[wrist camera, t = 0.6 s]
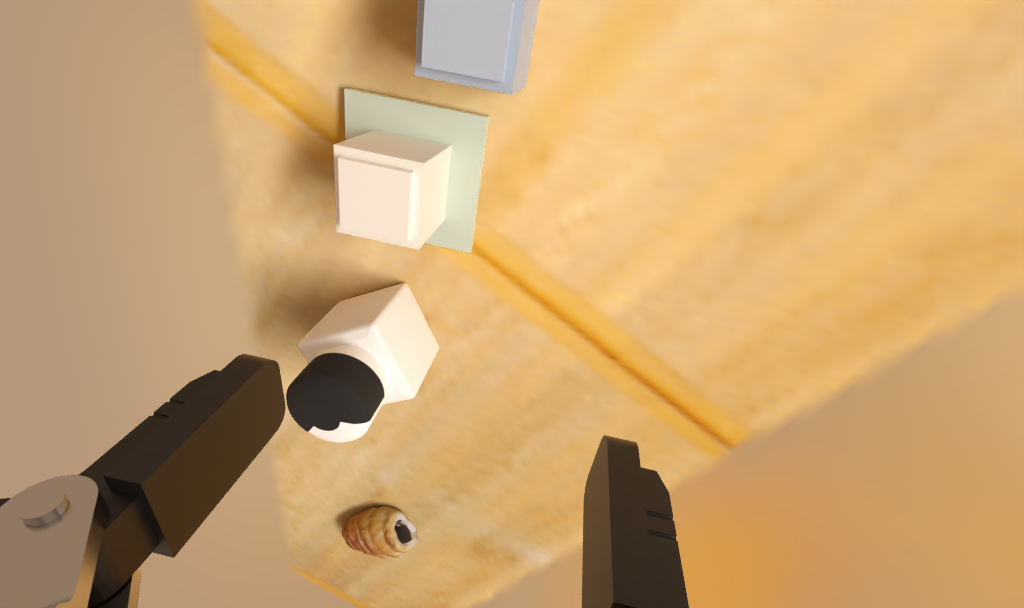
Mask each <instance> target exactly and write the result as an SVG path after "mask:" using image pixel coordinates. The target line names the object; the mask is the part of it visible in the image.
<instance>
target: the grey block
mask: <svg viewBox="0 0 1024 608" xmlns="http://www.w3.org/2000/svg"><path fill="white" fill-rule="evenodd" d="M539 1H540V0H418V11H417V32H416V54H415V76H419V77H424V78H430V79H435V80H440V81H445V82H450V83H455V84H460V85H465V86H471V87H476V88H481V89H486V90H491V91H496V92H501V93H507V94H514V93H516V92H518V91H520V90H522V89H524V88H526V82H527V75H528V69H529V63H530V57H531V50H532V44H533V38H534V32H535V25H536V19H537V13H538V7H539Z"/></svg>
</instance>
